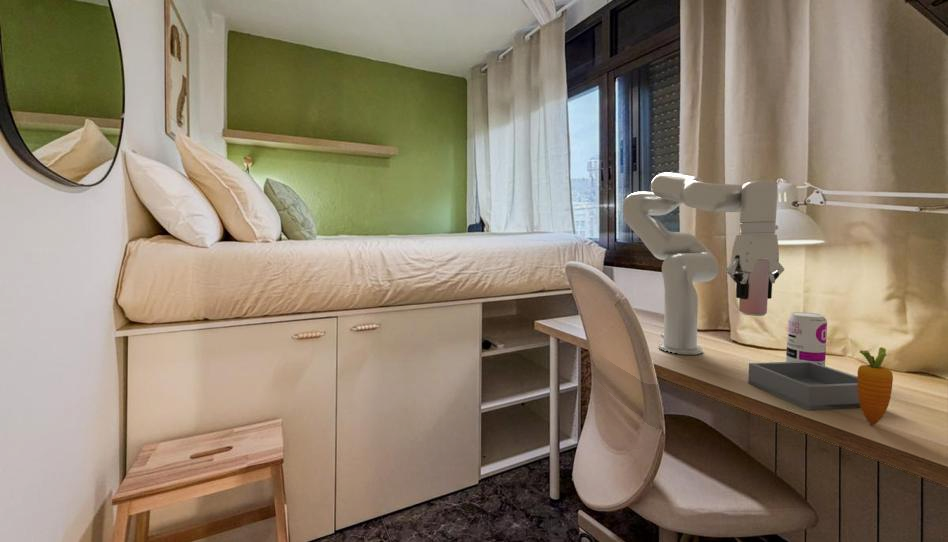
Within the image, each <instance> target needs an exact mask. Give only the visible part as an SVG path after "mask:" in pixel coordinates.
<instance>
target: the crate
mask: <svg viewBox="0 0 948 542" xmlns="http://www.w3.org/2000/svg"><path fill="white" fill-rule="evenodd" d="M857 378H858V375H853V374H850V373H848V372H844V371H841V370H838V369H835V368H832V367H828V366H826V365H825V366H823V365H820V364H817V363H814V362H811V361H797V362H786V361H774V362H749V363H748V378H747V380H748V381H747V382H748V384H749V385H752V386H755V387H756V388H758V389H761V390H763V391H765V392H767V393H770V394H771V395H774V396H776V397H778V398H780V399H782V400H785V401H787V402H789V403H792V404H794V405H795V406H797V407H800V408H802V409H804V410H806V409H807V411H824V409H825V410H844V409H846V410H847V409H848V410H849V409H861V407H860V403H859V398H858V388H857Z"/></svg>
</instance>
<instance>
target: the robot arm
mask: <svg viewBox="0 0 948 542" xmlns="http://www.w3.org/2000/svg"><path fill="white" fill-rule="evenodd" d="M778 188H779V187H778V184H777V182H776V181H775V180H755V181H754V180H753V181H749V182H748V181H747V182H746V183H744V184H732V183H729V184H728V183H711V182H710V183H709V182H703V180H702V178H700V177H699V176H693V175H692V174H689V173H685V172H661V173H659V174H657V175H656V176H655V177H653V179H652V180H651V182H650V189H651V191H637V192H633V193H630V194H629V195H627V196H626V197H625V198H624V201H623V203H622V214H623V218H624V220H625V223H626V224H627V225H628V227H629V228H630V229H631V230H632V232H634V233H635V235H637V236H638V238H639V239H640V240H641V241H642V243H643V245H644V246H645V247H646V248H647V249H648V251H649V252H650V253H651V254H652V255H653V256H654V257H655V258H656V259H658V260H661V261H662V260H663V262H662V264H661V272H662V273H661V275H662V278H663V287H664V316H663V317H664V319H663V320H664V321H663V325H664V326H663V333H661V334H660V337H661V338H662V339H663V341H662V342H660V343H658V349H660V350H661V349H662V350H661V351H663V350H664V351H663V352H666V351H668V352H667V353H670V352H672V353H671V354H675V353H677V355H683V356H684V355H687V356H689V355H691V356H692V355H695V356H696V355H700V354H701V353H703V347H702V346H699V345H697V344H698V316H699V315H698V313H699V312H698V311H699V307H698V306H699V304H698V303H699V297H698V296H699V295H698V292H697V289H696V288H695V285H694V283H705V282H711V281H712V280H714V279H716V277H717V276H718V274H719V272H720V267H719V262H718V260H717V258H716V257H715V255H714V254H713V253H712V252H711V251H710V250H709V249H708V248H707V247H706V246H705V245H704V244H703V242H701V241H700V239H698V238H697V237H696V236H695V235H693V234H692V233H688V232H684V231H683V232H681V231H679V232H677V231H676V232H675V231H670V230H668V229H667V228H666V227H665V226H664V224H662V222H661V221H659V220H658V219H656V218H654V217H653V216H660V217H661V216H665V215H668V214H670V213H671V212H673V211H674V210H675V209H677V208H678V207H679V206H681V205H682V204H684V205H685V206H686V207H689V208H692V209H697V210H700V211H704V212H710V213H711V212H712V213H740V214H739V217H740V218H739V234H738V235H735V238H734V241H733V245H732V250H731V257H730V258H731V259H730V264H729V265H728V266H727V267H726V268H725V272H726V273H727V274H728V275H729V276H730V277H731V279H732V280H733V282H734V283H735V284H736V285H735V287H736V288H735V297H736V298H738V299H739V300H740V299H747V298H748V284H745V283H746V281H747V279H748V276H749V273H752V272H753V269H754V265H755V262H756V261H757V260H758V259H757V258H768V261H769V282H768V300H769V299H772V298H773V297H772V294H773V284H775V283H776V280H777V279H778V278H779V277H780V276H781V274H782V273H783V272H784V271H785V267H784V266H783V265H782V264H781V263H780V248H779V240H778V235H777V234H776V231H778V229H779V226H778V225H777V223H776V222H777V221H776V220H777V209H778V208H777V207H778V206H777V205H778V191H779V189H778ZM742 274H743V276H742Z"/></svg>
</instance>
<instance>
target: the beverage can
mask: <svg viewBox="0 0 948 542" xmlns="http://www.w3.org/2000/svg"><path fill="white" fill-rule="evenodd" d="M757 259H758V260H757V261H756V262H755V265H754V269H753V272H752V273H749V276H748V279H747V281H746V283H745V284H748V298H747V299H740V298H739V302H738V303H739V304H738V305H739V306H738V311H739V313H740V314H741V315H746V316H754V317H763V316H766V314H768V313H767V312H768V300H769V299H768V282H769V261H768V258H757ZM742 276H743V274H742Z"/></svg>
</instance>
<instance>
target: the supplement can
mask: <svg viewBox="0 0 948 542" xmlns="http://www.w3.org/2000/svg"><path fill="white" fill-rule="evenodd" d="M786 328H787V330H786V332H787V335H786V353H785V355H786V358H785V362H797V361H811V362H814V363H817V364H820V365H823V366H826V352H827V351H826V350H827V335H828V334H827V333H828V332H827V331H828V320H827V319H826V317H825V315H824V314H819V313H814V312H797V311H796V312H791V313H790V315H789V317H788V318H787V327H786Z"/></svg>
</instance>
